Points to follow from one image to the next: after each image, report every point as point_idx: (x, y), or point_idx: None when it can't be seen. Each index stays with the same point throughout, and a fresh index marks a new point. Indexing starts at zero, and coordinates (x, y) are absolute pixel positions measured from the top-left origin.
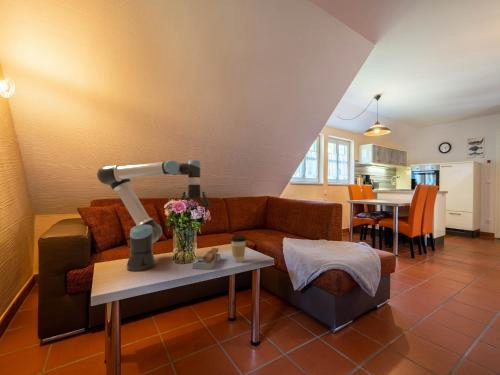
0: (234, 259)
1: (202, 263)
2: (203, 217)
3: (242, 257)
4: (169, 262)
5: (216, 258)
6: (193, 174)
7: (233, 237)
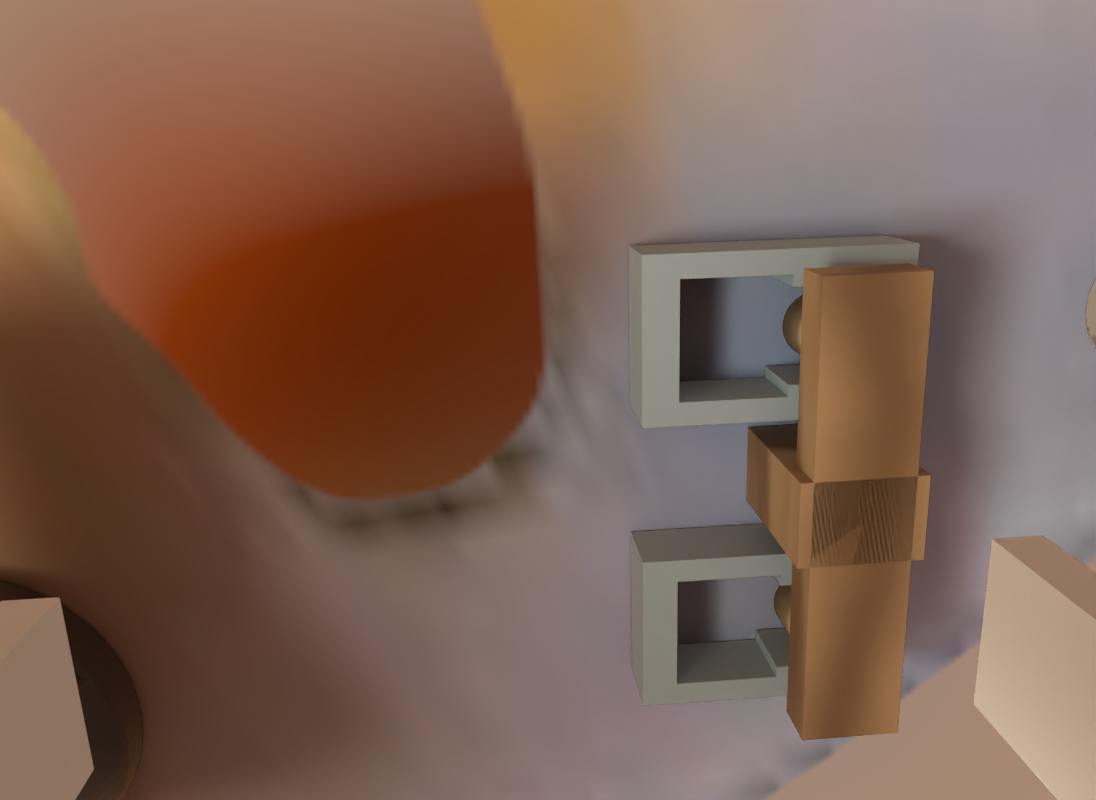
0: None
1: (770, 696)
2: (984, 707)
3: None
4: (221, 513)
5: None
6: None
7: None
